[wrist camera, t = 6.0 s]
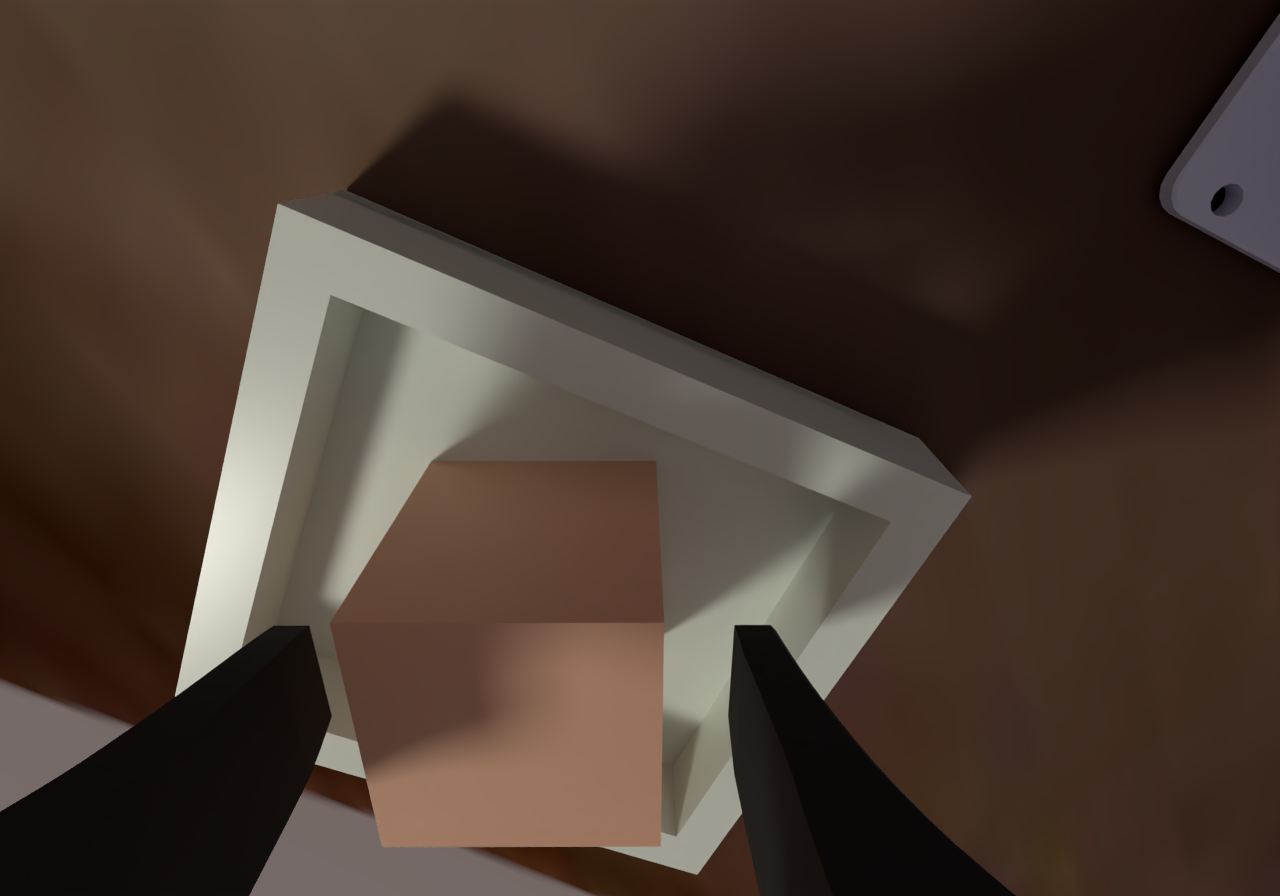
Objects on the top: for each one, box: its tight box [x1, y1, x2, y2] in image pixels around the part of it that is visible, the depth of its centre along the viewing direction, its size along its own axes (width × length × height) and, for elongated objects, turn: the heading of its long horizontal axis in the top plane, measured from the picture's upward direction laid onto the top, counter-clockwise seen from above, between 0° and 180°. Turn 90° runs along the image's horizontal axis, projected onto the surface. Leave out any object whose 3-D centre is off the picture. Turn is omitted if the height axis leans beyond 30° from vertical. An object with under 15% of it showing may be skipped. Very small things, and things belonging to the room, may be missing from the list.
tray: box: [175, 190, 972, 874], centre depth 14 cm, size 12×11×2 cm
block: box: [330, 461, 664, 847], centre depth 13 cm, size 4×4×5 cm
